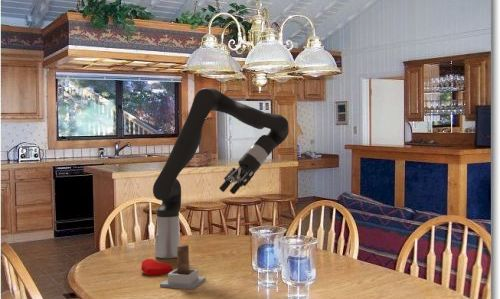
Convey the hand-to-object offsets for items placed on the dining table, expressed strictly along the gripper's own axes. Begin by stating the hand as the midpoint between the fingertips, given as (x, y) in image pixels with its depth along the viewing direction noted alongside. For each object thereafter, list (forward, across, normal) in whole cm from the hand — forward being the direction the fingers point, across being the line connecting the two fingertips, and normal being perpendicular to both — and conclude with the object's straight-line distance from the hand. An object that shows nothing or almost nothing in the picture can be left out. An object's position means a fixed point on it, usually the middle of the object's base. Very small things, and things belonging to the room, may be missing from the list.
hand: (226, 191), depth 200 cm
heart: (+38, -15, +6) cm, 41 cm away
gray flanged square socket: (+35, +3, +9) cm, 36 cm away
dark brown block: (+34, +3, +8) cm, 35 cm away
